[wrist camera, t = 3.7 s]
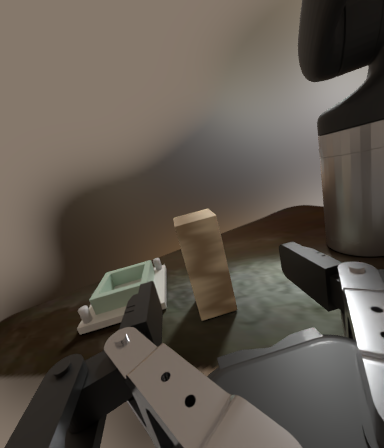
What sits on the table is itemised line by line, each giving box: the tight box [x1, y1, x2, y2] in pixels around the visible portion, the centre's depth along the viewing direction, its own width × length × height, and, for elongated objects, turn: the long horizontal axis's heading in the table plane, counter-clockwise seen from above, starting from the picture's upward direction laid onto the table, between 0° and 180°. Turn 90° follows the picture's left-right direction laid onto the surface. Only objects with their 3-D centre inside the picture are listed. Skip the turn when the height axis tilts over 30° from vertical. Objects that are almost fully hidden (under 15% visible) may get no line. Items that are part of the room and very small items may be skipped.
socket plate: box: [77, 258, 167, 335], centre depth 32 cm, size 12×12×4 cm
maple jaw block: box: [173, 209, 237, 321], centre depth 24 cm, size 4×4×12 cm
